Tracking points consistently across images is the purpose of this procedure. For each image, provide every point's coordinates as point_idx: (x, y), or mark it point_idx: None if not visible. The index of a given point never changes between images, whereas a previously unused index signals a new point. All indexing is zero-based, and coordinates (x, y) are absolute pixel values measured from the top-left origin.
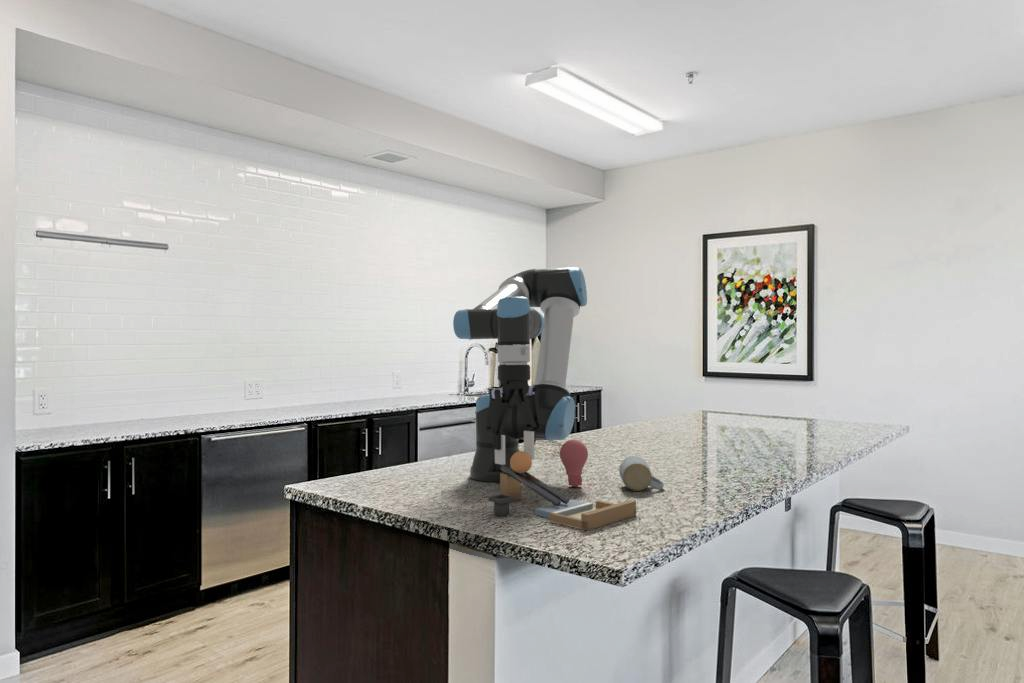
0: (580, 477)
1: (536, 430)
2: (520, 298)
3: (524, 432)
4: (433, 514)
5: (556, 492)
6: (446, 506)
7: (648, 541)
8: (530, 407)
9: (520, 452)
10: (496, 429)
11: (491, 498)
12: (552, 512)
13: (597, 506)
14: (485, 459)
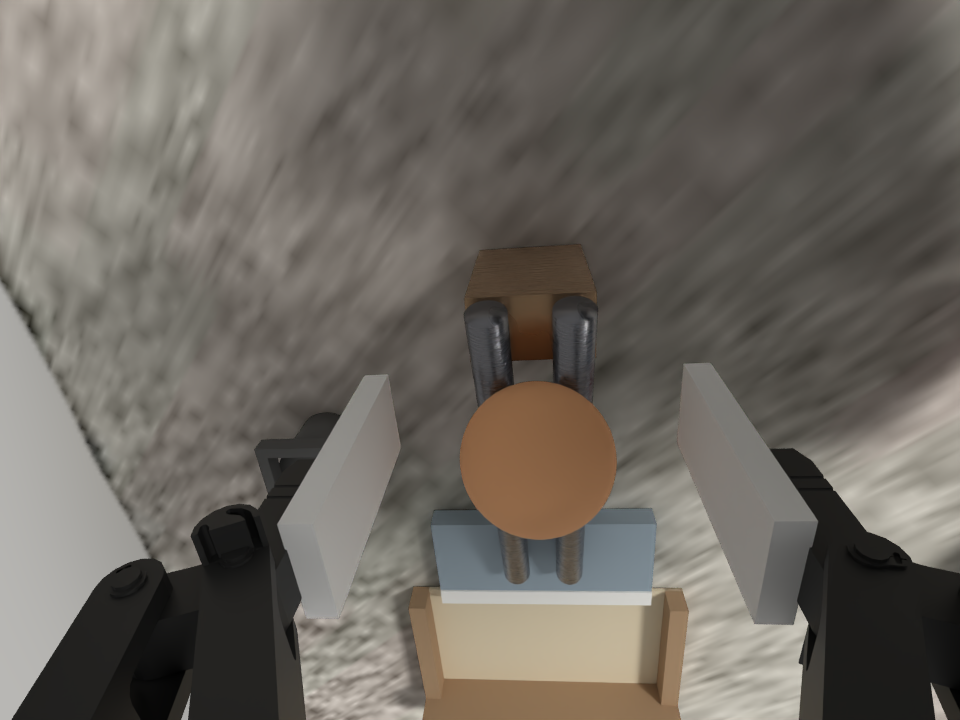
0: None
1: (803, 656)
2: None
3: (763, 518)
4: (85, 244)
5: (563, 555)
6: (191, 152)
7: None
8: None
9: (516, 522)
10: (189, 681)
11: (260, 465)
12: (441, 592)
13: (665, 601)
14: None
